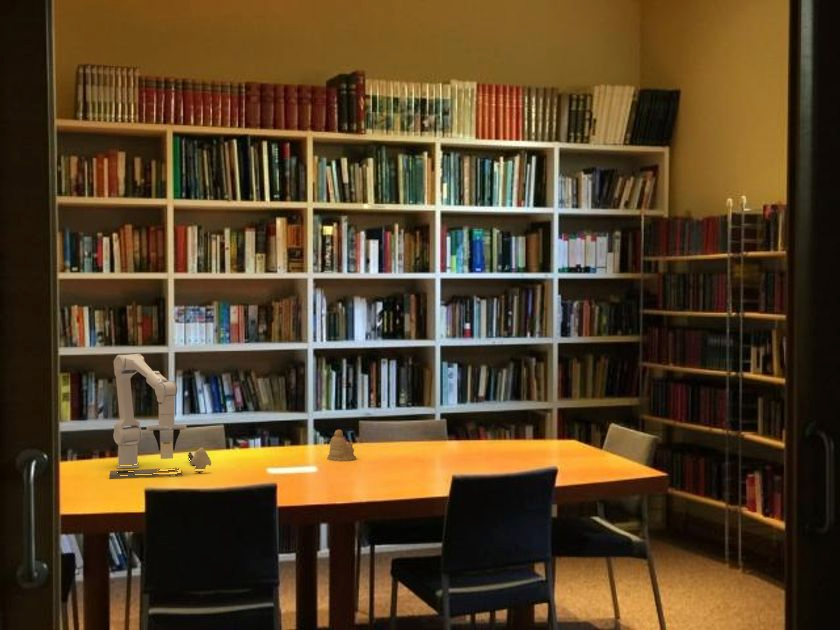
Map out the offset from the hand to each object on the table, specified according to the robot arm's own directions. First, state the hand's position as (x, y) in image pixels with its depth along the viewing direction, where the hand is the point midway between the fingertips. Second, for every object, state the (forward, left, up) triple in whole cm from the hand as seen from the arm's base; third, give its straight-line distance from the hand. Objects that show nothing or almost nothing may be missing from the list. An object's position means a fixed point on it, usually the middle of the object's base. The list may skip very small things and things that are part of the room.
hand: (166, 449), depth 401 cm
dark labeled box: (-20, +10, -10) cm, 24 cm away
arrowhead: (0, +12, -10) cm, 16 cm away
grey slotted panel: (0, -8, -9) cm, 12 cm away
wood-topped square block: (0, 0, -3) cm, 3 cm away
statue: (-19, +69, -10) cm, 73 cm away
